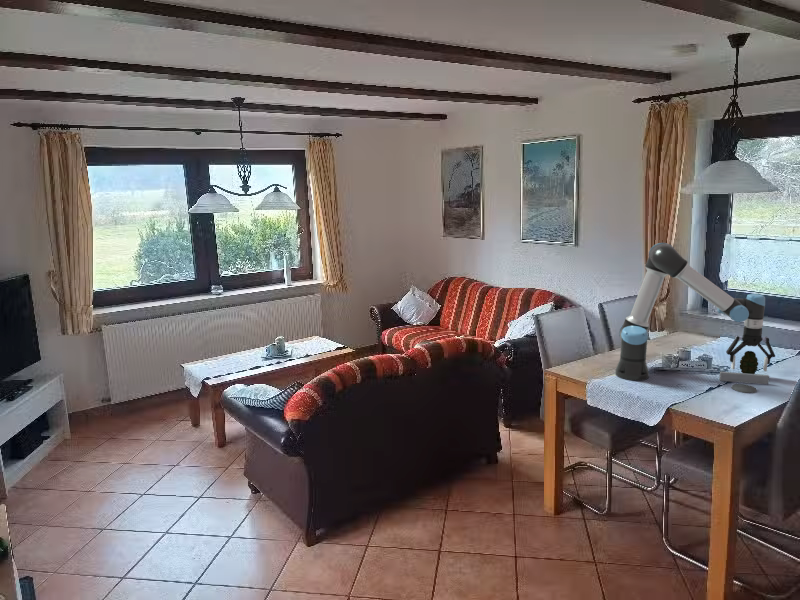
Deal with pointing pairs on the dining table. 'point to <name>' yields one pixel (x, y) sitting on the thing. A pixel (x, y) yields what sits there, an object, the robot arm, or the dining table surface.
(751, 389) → the pad
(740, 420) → the dining table surface
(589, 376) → the dining table surface
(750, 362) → the grenade
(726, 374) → the low wall
